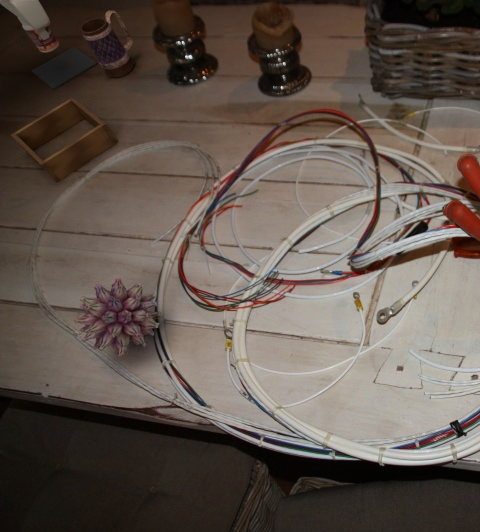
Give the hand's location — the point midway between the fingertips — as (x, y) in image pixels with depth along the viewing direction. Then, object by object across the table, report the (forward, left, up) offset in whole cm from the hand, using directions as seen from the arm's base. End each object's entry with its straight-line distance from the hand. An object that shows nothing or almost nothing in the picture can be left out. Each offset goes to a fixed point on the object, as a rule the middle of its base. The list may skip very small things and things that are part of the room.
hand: (39, 33), depth 126 cm
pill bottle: (0, 0, -4) cm, 4 cm away
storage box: (-13, -29, -9) cm, 33 cm away
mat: (0, 0, -9) cm, 9 cm away
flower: (-28, -81, -10) cm, 86 cm away
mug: (+10, -13, -10) cm, 19 cm away
